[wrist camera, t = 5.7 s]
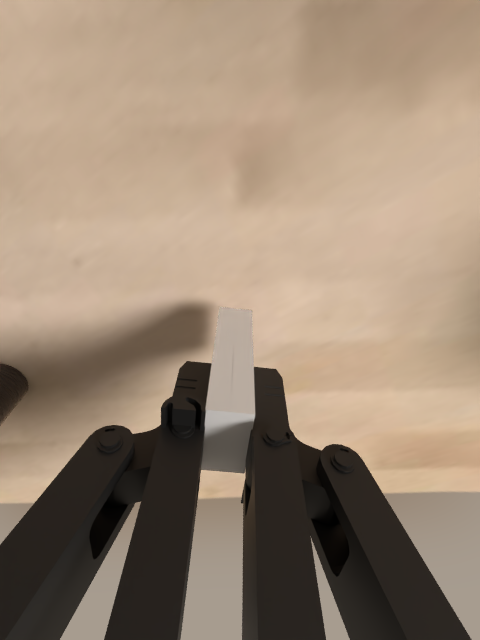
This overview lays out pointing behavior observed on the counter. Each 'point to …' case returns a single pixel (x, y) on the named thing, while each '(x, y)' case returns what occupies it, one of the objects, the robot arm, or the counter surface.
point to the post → (10, 389)
